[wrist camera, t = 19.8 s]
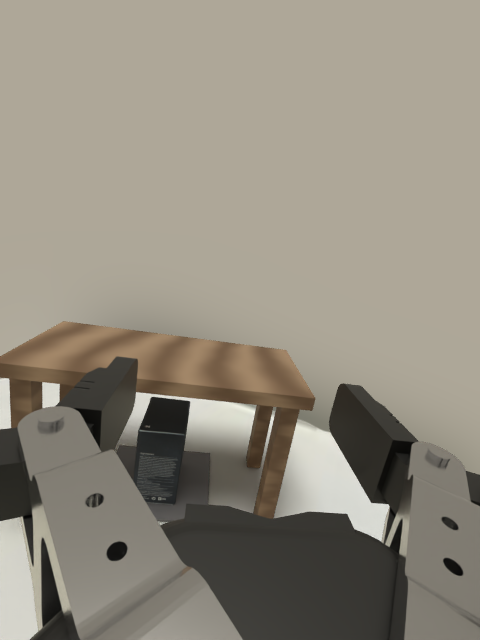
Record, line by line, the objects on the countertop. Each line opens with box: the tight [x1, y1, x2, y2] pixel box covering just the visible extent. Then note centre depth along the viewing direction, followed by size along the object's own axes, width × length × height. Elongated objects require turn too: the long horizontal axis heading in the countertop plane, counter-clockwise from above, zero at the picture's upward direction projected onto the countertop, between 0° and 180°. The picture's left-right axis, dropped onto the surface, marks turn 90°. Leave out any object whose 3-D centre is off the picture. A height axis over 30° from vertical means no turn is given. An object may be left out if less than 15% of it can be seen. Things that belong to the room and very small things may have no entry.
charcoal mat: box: [116, 446, 210, 522], centre depth 41 cm, size 14×12×1 cm
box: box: [133, 397, 190, 505], centre depth 40 cm, size 8×6×11 cm
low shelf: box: [0, 321, 315, 519], centre depth 39 cm, size 32×14×19 cm, turn 94°
